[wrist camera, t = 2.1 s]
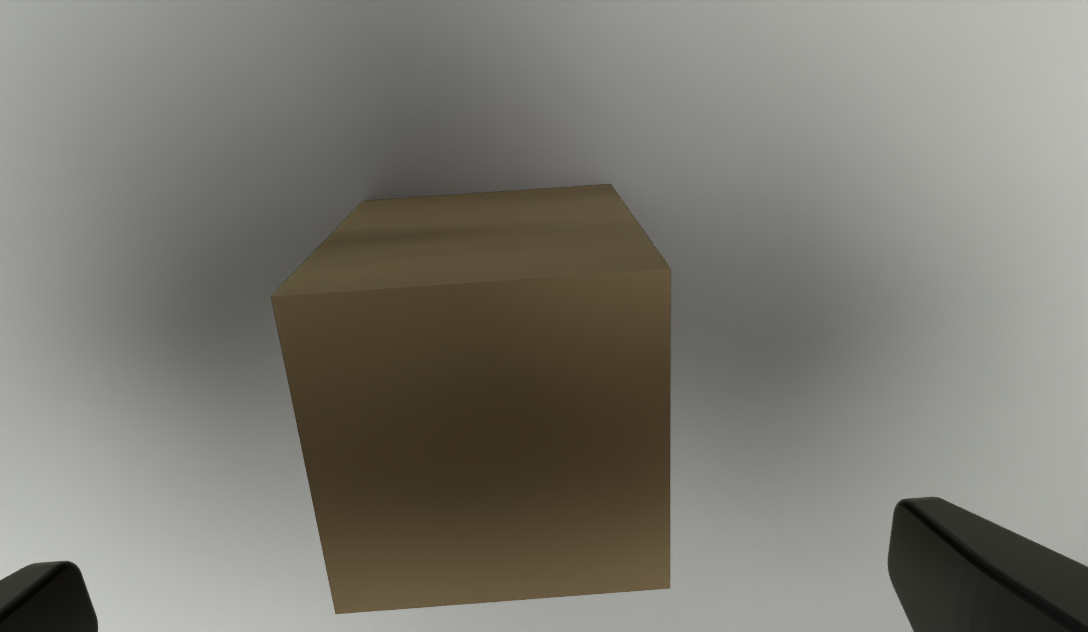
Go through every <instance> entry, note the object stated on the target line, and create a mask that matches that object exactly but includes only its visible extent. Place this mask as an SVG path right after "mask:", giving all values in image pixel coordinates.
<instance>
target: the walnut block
mask: <svg viewBox="0 0 1088 632" xmlns="http://www.w3.org/2000/svg"><path fill="white" fill-rule="evenodd" d="M271 300H272V305H273V310H274V315H275V320H276V325H277V330H278V335H279V339H280V344H281V349H282V354H283V359H284V364H285V369H286V374H287V379H288V384H289V388H290V393H291V398H292V403H293V408H294V413H295V418H296V423H297V428H298V433H299V437H300V442H301V447H302V452H303V457H304V462H305V467H306V472H307V477H308V482H309V486H310V491H311V496H312V501H313V506H314V511H315V516H316V521H317V526H318V531H319V535H320V540H321V545H322V550H323V555H324V560H325V565H326V570H327V575H328V580H329V585H330V589H331V594H332V599H333V604H334V609H335V614H343V613H356V612H369V611H382V610H395V609H408V608H421V607H434V606H447V605H460V604H473V603H486V602H499V601H512V600H525V599H538V598H551V597H564V596H577V595H590V594H603V593H616V592H629V591H642V590H655V589H668V588H670V319H671V269H670V267H669V266H668V264H667V263H666V262H665V260H664V259H663V257H662V256H661V255H660V253H659V252H658V250H657V249H656V247H655V246H654V245H653V243H652V242H651V240H650V239H649V238H648V236H647V235H646V233H645V232H644V230H643V229H642V228H641V226H640V225H639V223H638V222H637V221H636V219H635V218H634V216H633V215H632V213H631V212H630V211H629V209H628V208H627V206H626V205H625V204H624V202H623V201H622V199H621V198H620V196H619V195H618V194H617V192H616V191H615V189H614V188H613V187H612V185H611V184H603V185H588V186H573V187H558V188H544V189H529V190H514V191H499V192H484V193H469V194H455V195H440V196H425V197H410V198H395V199H381V200H366V201H363V202H362V203H361V204H360V205H359V206H358V207H357V208H356V209H355V210H354V211H353V212H352V213H351V214H350V215H349V216H348V217H347V218H346V219H345V220H344V221H343V222H342V223H341V224H340V225H339V226H338V227H337V229H336V230H335V231H334V232H333V233H332V234H331V235H330V236H329V237H328V238H327V239H326V240H325V241H324V242H323V243H322V244H321V245H320V246H319V247H318V248H317V249H316V250H315V251H314V252H313V253H312V254H311V255H310V256H309V258H308V259H307V260H306V261H305V262H304V263H303V264H302V265H301V266H300V267H299V268H298V269H297V270H296V271H295V272H294V273H293V274H292V275H291V276H290V277H289V278H288V279H287V280H286V281H285V282H284V283H283V284H282V285H281V287H280V288H279V289H278V290H277V291H276V292H275V293H274V294H273V295H272V296H271Z"/></svg>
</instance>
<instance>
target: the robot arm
mask: <svg viewBox="0 0 1088 632" xmlns="http://www.w3.org/2000/svg"><path fill="white" fill-rule="evenodd" d="M888 571H889V576H890V579H891V582H892V585H893V587H894V589H895V591H896V593H897V596H898V598H899V600H900V602H901V604H902V607H903V609H904V611H905V613H906V615H907V618H908V620H909V622H910V624H911V626H912V629H913V631H914V632H1088V567H1087V566H1085V565H1083V564H1081V563H1079V562H1077V561H1074V560H1072V559H1070V558H1068V557H1066V556H1064V555H1061V554H1059V553H1057V552H1055V551H1053V550H1051V549H1049V548H1046V547H1044V546H1042V545H1040V544H1038V543H1036V542H1034V541H1031V540H1029V539H1027V538H1025V537H1023V536H1021V535H1019V534H1016V533H1014V532H1012V531H1010V530H1008V529H1006V528H1003V527H1001V526H999V525H997V524H995V523H993V522H991V521H988V520H986V519H984V518H982V517H980V516H978V515H976V514H973V513H971V512H969V511H967V510H965V509H963V508H961V507H958V506H956V505H954V504H952V503H950V502H948V501H945V500H943V499H941V498H938V497H922V498H909V499H902V500H901V501H899V502H898V503H897V505H896V507H895V509H894V514H893V521H892V529H891V537H890V545H889V553H888ZM0 632H98V621H97V616H96V613H95V611H94V608H93V605H92V602H91V599H90V596H89V593H88V591H87V588H86V585H85V582H84V579H83V576H82V573H81V571H80V569H79V568H78V566H77V565H76V564H74V563H73V562H70V561H56V562H42V563H34V564H30V565H28V566H26V567H24V568H22V569H20V570H18V571H16V572H15V573H13V574H11V575H9V576H7V577H6V578H4V579H2V580H0Z"/></svg>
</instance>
